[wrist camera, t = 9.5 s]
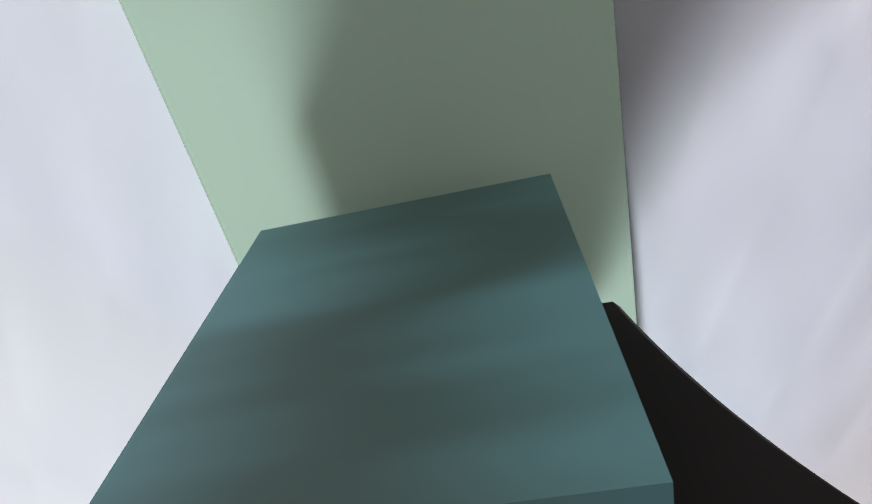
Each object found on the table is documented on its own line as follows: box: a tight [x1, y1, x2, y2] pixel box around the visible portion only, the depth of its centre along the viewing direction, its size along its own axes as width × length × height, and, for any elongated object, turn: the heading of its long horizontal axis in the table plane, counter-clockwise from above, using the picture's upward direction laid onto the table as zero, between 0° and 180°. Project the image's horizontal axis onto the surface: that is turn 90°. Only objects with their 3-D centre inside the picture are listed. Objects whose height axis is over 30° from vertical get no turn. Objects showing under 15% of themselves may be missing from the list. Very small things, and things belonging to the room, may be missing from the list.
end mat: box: [119, 0, 637, 324], centre depth 12 cm, size 8×14×1 cm, turn 13°
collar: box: [89, 174, 674, 504], centre depth 8 cm, size 5×5×6 cm
